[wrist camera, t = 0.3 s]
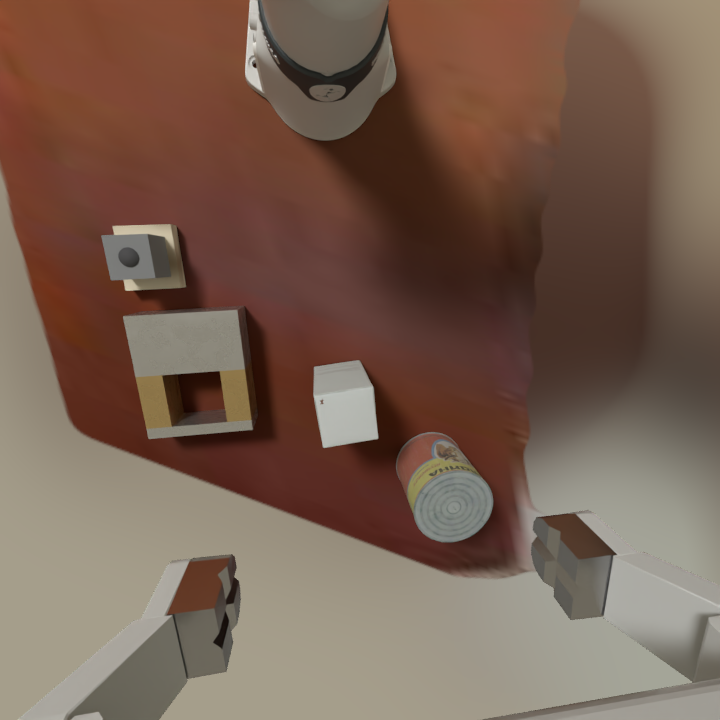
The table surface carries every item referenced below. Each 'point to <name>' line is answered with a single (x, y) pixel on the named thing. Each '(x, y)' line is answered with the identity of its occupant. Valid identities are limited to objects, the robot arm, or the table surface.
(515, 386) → the table surface
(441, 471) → the canned food
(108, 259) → the nut block
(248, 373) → the grey yellow rectangular frame
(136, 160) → the table surface
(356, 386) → the supplement box
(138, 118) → the table surface
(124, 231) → the tab
